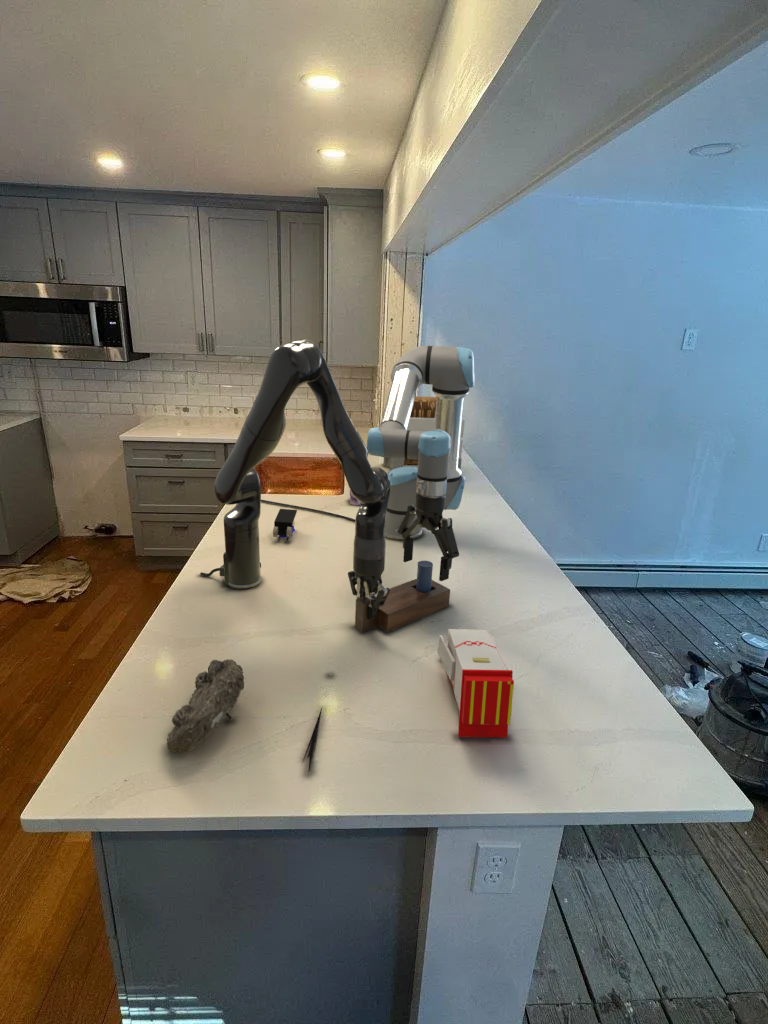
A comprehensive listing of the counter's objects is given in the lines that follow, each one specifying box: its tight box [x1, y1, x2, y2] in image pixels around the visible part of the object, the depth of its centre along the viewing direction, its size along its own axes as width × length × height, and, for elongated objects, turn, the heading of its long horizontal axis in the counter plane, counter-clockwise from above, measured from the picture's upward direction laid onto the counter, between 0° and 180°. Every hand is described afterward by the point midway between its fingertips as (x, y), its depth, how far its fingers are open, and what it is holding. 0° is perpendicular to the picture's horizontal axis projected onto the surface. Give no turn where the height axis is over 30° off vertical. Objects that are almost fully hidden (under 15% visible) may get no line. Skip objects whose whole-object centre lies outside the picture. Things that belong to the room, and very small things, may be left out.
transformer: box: [383, 396, 465, 472], centre depth 268 cm, size 34×33×41 cm
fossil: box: [166, 658, 245, 754], centre depth 106 cm, size 22×10×15 cm
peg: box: [416, 560, 434, 593], centre depth 151 cm, size 4×4×12 cm
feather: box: [301, 673, 332, 771], centre depth 108 cm, size 2×28×2 cm
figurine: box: [348, 489, 361, 506], centre depth 228 cm, size 9×10×15 cm
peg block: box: [354, 578, 451, 633], centre depth 146 cm, size 10×27×8 cm, turn 131°
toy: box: [437, 628, 515, 738], centre depth 117 cm, size 12×13×30 cm
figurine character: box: [272, 508, 298, 542], centre depth 192 cm, size 7×8×15 cm
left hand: (367, 615), depth 140 cm, fingers closed on peg block, 3 cm apart
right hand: (425, 569), depth 150 cm, fingers open, 13 cm apart
